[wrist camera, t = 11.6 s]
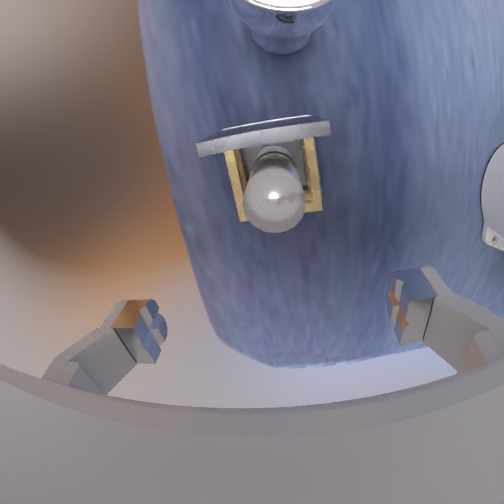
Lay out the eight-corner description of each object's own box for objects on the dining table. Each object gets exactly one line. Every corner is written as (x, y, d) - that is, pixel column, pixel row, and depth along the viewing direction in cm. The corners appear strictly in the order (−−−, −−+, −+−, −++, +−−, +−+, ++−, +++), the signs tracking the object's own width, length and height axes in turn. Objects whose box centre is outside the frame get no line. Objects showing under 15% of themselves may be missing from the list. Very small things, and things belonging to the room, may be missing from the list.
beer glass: (269, 69, 24) (262, 34, 11) (233, 20, 21) (195, -43, 8) (328, 42, 22) (373, -7, 9) (291, -7, 19) (301, -82, 6)
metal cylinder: (300, 154, 27) (317, 189, 17) (284, 188, 29) (289, 242, 19) (263, 139, 27) (256, 162, 16) (249, 174, 29) (233, 219, 18)
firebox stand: (321, 196, 30) (341, 243, 21) (242, 207, 32) (226, 258, 22) (309, 114, 26) (328, 119, 16) (223, 128, 27) (195, 142, 18)
